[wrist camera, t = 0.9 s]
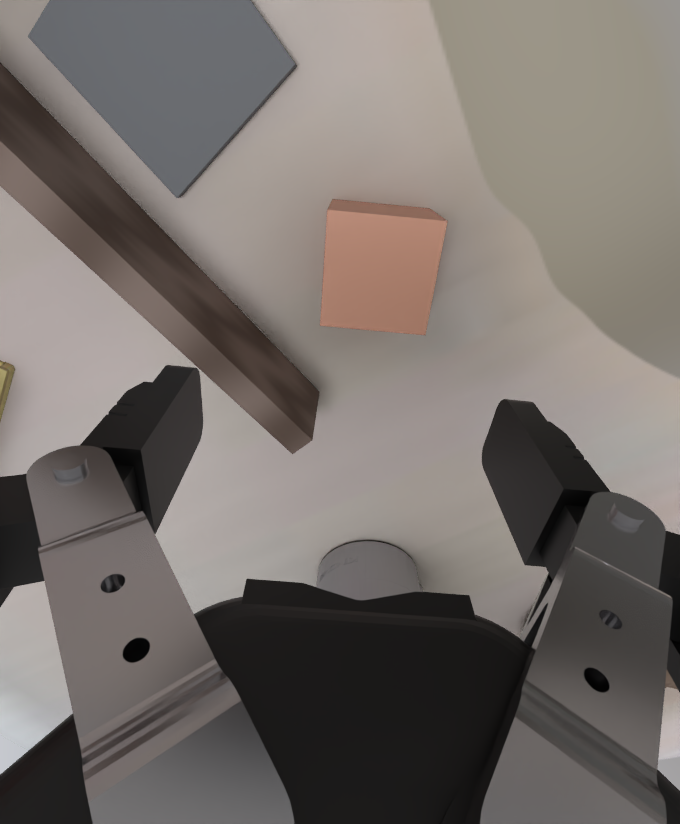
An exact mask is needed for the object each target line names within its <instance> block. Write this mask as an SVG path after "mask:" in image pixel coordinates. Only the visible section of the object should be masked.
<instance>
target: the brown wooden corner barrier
mask: <svg viewBox="0 0 680 824" xmlns="http://www.w3.org/2000/svg"><path fill="white" fill-rule="evenodd" d="M0 186H1V187H2V188H3V189H4V190H5V191H6V192H7V193H9V194H10V195H11V196H12V197H13V198H14V199H15V200H16V201H17V202H18V203H19V204H21V205H22V206H23V207H24V208H25V209H26V210H27V211H28V212H29V213H30V214H31V215H33V216H34V217H35V218H36V219H37V220H38V221H39V222H40V223H41V224H42V225H43V226H45V227H46V228H47V229H48V230H49V231H50V232H51V233H52V234H53V235H54V236H55V237H57V238H58V239H59V240H60V241H61V242H62V243H63V244H64V245H65V246H66V247H67V248H68V249H70V250H71V251H72V252H73V253H74V254H75V255H76V256H77V257H78V258H79V259H80V260H82V261H83V262H84V263H85V264H86V265H87V266H88V267H89V268H90V269H91V270H92V271H94V272H95V273H96V274H97V275H98V276H99V277H100V278H101V279H102V280H103V281H104V282H106V283H107V284H108V285H109V286H110V287H111V288H112V289H113V290H114V291H115V292H116V293H118V294H119V295H120V296H121V297H122V298H123V299H124V300H125V301H126V302H127V303H128V304H129V305H131V306H132V307H133V308H134V309H135V310H136V311H137V312H138V313H139V314H140V315H141V316H143V317H144V318H145V319H146V320H147V321H148V322H149V323H150V324H151V325H152V326H153V327H155V328H156V329H157V330H158V331H159V332H160V333H161V334H162V335H163V336H164V337H165V338H167V339H168V340H169V341H170V342H171V343H172V344H173V345H174V346H175V347H176V348H177V349H179V350H180V351H181V352H182V353H183V354H184V355H185V356H186V357H187V358H188V359H189V360H191V361H192V362H193V363H194V364H195V365H196V366H197V367H198V368H199V369H200V370H201V371H202V372H204V373H205V374H206V375H207V376H208V377H209V378H210V379H211V380H212V381H213V382H214V383H216V384H217V385H218V386H219V387H220V388H221V389H222V390H223V391H224V392H225V393H226V394H228V395H229V396H230V397H231V398H232V399H233V400H234V401H235V402H236V403H237V404H238V405H240V406H241V407H242V408H243V409H244V410H245V411H246V412H247V413H248V414H249V415H250V416H252V417H253V418H254V419H255V420H256V421H257V422H258V423H259V424H260V425H261V426H262V427H264V428H265V429H266V430H267V431H268V432H269V433H270V434H271V435H272V436H273V437H274V438H275V439H277V440H278V441H279V442H280V443H281V444H282V445H283V446H284V447H285V448H286V449H287V450H289V451H290V452H291V453H292V454H293V453H295V452H296V451H298V450H299V449H300V448H302V447H303V446H305V445H306V444H308V443H309V442H310V441H312V439H313V432H314V425H315V418H316V412H317V405H318V398H319V391H318V390H317V389H316V388H315V387H314V386H313V385H312V384H311V383H310V382H309V381H308V380H307V379H306V378H305V377H304V376H303V375H302V374H301V373H300V372H299V371H298V369H297V368H296V367H295V366H294V365H293V364H292V363H291V362H290V361H289V360H288V359H287V358H286V357H285V356H284V355H283V354H282V353H281V352H280V351H279V350H278V349H277V348H276V347H275V346H274V345H273V344H272V343H271V342H270V341H269V340H268V339H267V338H266V336H265V335H264V334H263V333H262V332H261V331H260V330H259V329H258V328H257V327H256V326H255V325H254V324H253V323H252V322H251V321H250V320H249V319H248V318H247V317H246V316H245V315H244V314H243V313H242V312H241V311H240V310H239V309H238V308H237V307H236V306H235V305H234V303H233V302H232V301H231V300H230V299H229V298H228V297H227V296H226V295H225V294H224V293H223V292H222V291H221V290H220V289H219V288H218V287H217V286H216V285H215V284H214V283H213V282H212V281H211V280H210V279H209V278H208V277H207V276H206V275H205V274H204V273H203V272H202V270H201V269H200V268H199V267H198V266H197V265H196V264H195V263H194V262H193V261H192V260H191V259H190V258H189V257H188V256H187V255H186V254H185V253H184V252H183V251H182V250H181V249H180V248H179V247H178V246H177V245H176V244H175V243H174V242H173V241H172V240H171V239H170V237H169V236H168V235H167V234H166V233H165V232H164V231H163V230H162V229H161V228H160V227H159V226H158V225H157V224H156V223H155V222H154V221H153V220H152V219H151V218H150V217H149V216H148V215H147V214H146V213H145V212H144V211H143V210H142V209H141V208H140V207H139V206H138V205H137V203H136V202H135V201H134V200H133V199H132V198H131V197H130V196H129V195H128V194H127V193H126V192H125V191H124V190H123V189H122V188H121V187H120V186H119V185H118V184H117V183H116V182H115V181H114V180H113V179H112V178H111V177H110V176H109V175H108V174H107V173H106V172H105V170H104V169H103V168H102V167H101V166H100V165H99V164H98V163H97V162H96V161H95V160H94V159H93V158H92V157H91V156H90V155H89V154H88V153H87V152H86V151H85V150H84V149H83V148H82V147H81V146H80V145H79V144H78V143H77V142H76V141H75V140H74V139H73V137H72V136H71V135H70V134H69V133H68V132H67V131H66V130H65V129H64V128H63V127H62V126H61V125H60V124H59V123H58V122H57V121H56V120H55V119H54V118H53V117H52V116H51V115H50V114H49V113H48V112H47V111H46V110H45V109H44V108H43V107H42V106H41V104H40V103H39V102H38V101H37V100H36V99H35V98H34V97H33V96H32V95H31V94H30V93H29V92H28V91H27V90H26V89H25V88H24V87H23V86H22V85H21V84H20V83H19V82H18V81H17V80H16V79H15V78H14V77H13V76H12V75H11V74H10V73H9V71H8V70H7V69H6V68H5V67H4V66H3V65H2V64H1V63H0Z"/></svg>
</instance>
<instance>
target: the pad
mask: <svg viewBox="0 0 680 824" xmlns="http://www.w3.org/2000/svg"><path fill="white" fill-rule="evenodd" d="M28 37H29V38H30V40H31V41H32V42H33V43H34V44H35V45H36V46H37V47H38V48H39V49H40V50H41V51H42V53H43V54H44V55H45V56H46V57H47V58H48V59H49V60H50V61H51V62H52V63H53V64H54V66H55V67H56V68H57V69H58V70H59V71H60V72H61V73H62V74H63V75H64V76H65V77H66V79H67V80H68V81H69V82H70V83H71V84H72V85H73V86H74V87H75V88H76V89H77V90H78V92H79V93H80V94H81V95H82V96H83V97H84V98H85V99H86V100H87V101H88V102H89V103H90V105H91V106H92V107H93V108H94V109H95V110H96V111H97V112H98V113H99V114H100V115H101V116H102V118H103V119H104V120H105V121H106V122H107V123H108V124H109V125H110V126H111V127H112V128H113V129H114V131H115V132H116V133H117V134H118V135H119V136H120V137H121V138H122V139H123V140H124V141H125V142H126V144H127V145H128V146H129V147H130V148H131V149H132V150H133V151H134V152H135V153H136V154H137V155H138V156H139V158H140V159H141V160H142V161H143V162H144V163H145V164H146V165H147V166H148V167H149V168H150V169H151V171H152V172H153V173H154V174H155V175H156V176H157V177H158V178H159V179H160V180H161V181H162V182H163V184H164V185H165V186H166V187H167V188H168V189H169V190H170V191H171V192H172V193H173V194H174V195H175V197H176V198H179V197H181V196H182V195H183V194H184V193H185V192H186V190H187V189H188V188H189V187H190V186H191V185H192V184H193V183H194V181H195V180H196V179H197V178H198V177H199V176H200V175H201V174H202V172H203V171H204V170H205V169H206V168H207V167H208V166H209V165H210V163H211V162H212V161H213V160H214V159H215V158H216V157H217V155H218V154H219V153H220V152H221V151H222V150H223V149H224V148H225V146H226V145H227V144H228V143H229V142H230V141H231V140H232V139H233V137H234V136H235V135H236V134H237V133H238V132H239V131H240V130H241V128H242V127H243V126H244V125H245V124H246V123H247V122H248V121H249V119H250V118H251V117H252V116H253V115H254V114H255V113H256V112H257V110H258V109H259V108H260V107H261V106H262V105H263V104H264V102H265V101H266V100H267V99H268V98H269V97H270V96H271V95H272V93H273V92H274V91H275V90H276V89H277V88H278V87H279V86H280V84H281V83H282V82H283V81H284V80H285V79H286V78H287V77H288V75H289V74H290V73H291V72H292V71H293V70H294V69H295V68H296V64H295V63H294V61H293V60H292V58H291V57H290V56H289V54H288V53H287V51H286V50H285V48H284V47H283V46H282V44H281V43H280V41H279V40H278V39H277V37H276V36H275V34H274V33H273V31H272V30H271V29H270V27H269V26H268V24H267V23H266V22H265V20H264V19H263V17H262V16H261V15H260V13H259V12H258V10H257V9H256V7H255V6H254V5H253V3H252V2H251V0H50V1H49V2H48V4H47V6H46V7H45V9H44V11H43V12H42V14H41V16H40V17H39V19H38V21H37V22H36V24H35V26H34V27H33V29H32V31H31V32H30V34H29V35H28Z"/></svg>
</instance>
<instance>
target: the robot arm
mask: <svg viewBox="0 0 680 824" xmlns="http://www.w3.org/2000/svg"><path fill="white" fill-rule="evenodd" d="M202 429H203V412H202V398H201V383H200V374H199V371H198V369H197V368H191V367H181V366H171V365H167V366H165V367H164V369H163V370H162V371H161V373H160V374H159V375H158V376H157V378H156V379H155V380H154V381H153V383H152V382H143V383H141V384H139V385H137V386H135V387H133V388H132V389H130V390H128V391H127V392H126V393H125V394H124V395H123V396H122V397H121V399H120V400H119V401H118V402H117V405H115V406H114V407H113V408H112V409H111V410H110V411H109V415H106V416H105V417H104V418H103V419H102V421H101V422H100V423H99V424H98V425H97V426H96V427H95V429H94V430H93V431H92V432H91V433H90V434H89V436H88V437H87V438H86V439H85V440H84V441H83V443H82V444H81V445H80V446H71V447H66V448H62V449H59V450H56V451H53V452H51V453H49V454H47V455H45V456H43V457H41V458H40V459H38V460H37V461H36V462H35V463H33V465H32V466H31V467H30V468H29V470H28V472H27V474H23V475H15V476H6V477H0V607H1V605H2V604H3V602H4V601H5V599H6V598H7V596H8V595H9V593H10V592H11V590H12V589H13V587H15V586H20V585H25V584H30V583H36V582H41V581H45V585H46V590H47V594H48V599H49V604H50V608H51V613H52V618H53V622H54V627H55V632H56V636H57V641H58V645H59V650H60V655H61V659H62V664H63V669H64V673H65V678H66V683H67V687H68V692H69V697H70V701H71V706H72V710H73V714H71V715H70V716H69V717H68V718H67V719H66V720H64V721H63V722H62V723H61V724H60V725H58V726H57V727H56V728H55V729H54V730H53V731H51V732H50V733H49V734H48V735H47V736H45V737H44V738H43V739H42V740H41V741H40V742H38V743H37V744H36V745H35V746H34V747H32V748H31V749H30V750H29V751H28V752H27V753H25V754H24V755H23V756H22V757H21V758H19V759H18V760H17V761H16V762H15V763H14V764H12V765H11V766H10V767H9V768H8V769H6V770H5V771H4V772H3V773H2V774H1V775H0V824H680V791H679V790H678V789H677V788H676V787H675V786H674V785H673V784H672V783H671V782H670V781H669V780H668V779H667V778H666V777H665V776H664V775H662V773H661V772H660V771H658V770H657V765H658V756H659V745H660V734H661V724H662V713H663V702H664V692H665V681H666V670H667V671H668V672H669V674H670V676H671V678H672V679H673V681H674V683H675V685H676V687H677V688H678V690H679V692H680V535H678V534H675V533H671V532H668V531H666V530H665V527H664V525H663V523H662V521H661V520H660V519H659V517H658V516H657V515H656V514H655V513H654V512H652V511H651V510H650V509H649V508H647V507H646V506H644V505H643V504H641V503H640V502H638V501H636V500H634V499H632V498H629V497H627V496H624V495H621V494H618V493H613V492H610V491H609V489H608V488H607V487H606V485H605V484H604V483H603V481H602V480H601V479H600V477H599V476H598V475H597V474H596V472H595V471H594V470H593V468H592V467H591V466H590V464H589V463H588V462H587V460H584V457H583V455H582V454H581V453H580V451H579V450H578V449H576V446H575V445H574V443H573V442H572V441H571V439H570V438H569V437H568V436H567V434H566V433H564V432H563V431H562V430H560V429H559V428H558V427H556V426H555V425H554V424H552V423H551V422H547V420H546V419H545V418H544V416H543V415H542V414H541V412H540V411H539V409H538V408H537V407H536V405H535V404H534V403H533V402H528V401H517V400H507V399H503V400H502V401H501V402H500V403H499V405H498V407H497V409H496V412H495V415H494V418H493V421H492V423H491V426H490V429H489V432H488V435H487V437H486V440H485V443H484V446H483V451H482V465H483V469H484V471H485V473H486V476H487V478H488V480H489V483H490V485H491V487H492V490H493V492H494V494H495V497H496V499H497V501H498V504H499V506H500V508H501V511H502V513H503V515H504V518H505V520H506V522H507V525H508V527H509V529H510V532H511V534H512V536H513V539H514V541H515V543H516V546H517V548H518V550H519V553H520V555H521V557H522V560H523V562H524V564H525V565H530V566H542V567H546V568H547V570H548V572H549V573H548V574H547V576H546V578H545V580H544V582H543V584H542V586H541V588H540V591H539V593H538V595H537V598H536V600H535V602H534V605H533V607H532V609H531V612H530V614H529V616H528V619H527V621H526V623H525V626H524V628H523V630H522V633H521V635H520V637H519V638H518V637H517V636H515V635H514V634H513V633H511V632H510V631H508V630H507V629H505V628H503V627H501V626H499V625H497V624H496V623H494V622H492V621H489V620H487V619H485V618H482V617H480V616H477V615H474V611H473V607H472V604H471V600H470V597H469V595H456V594H443V593H429V592H423V589H422V586H420V585H419V580H418V573H417V569H416V565H415V564H414V562H413V560H412V559H411V558H410V557H409V556H408V555H407V554H406V553H405V552H403V551H402V550H400V549H399V548H397V547H394V546H392V545H389V544H386V543H381V542H374V541H362V542H353V543H350V544H346V545H343V546H341V547H338V548H336V549H334V550H333V551H332V552H330V553H329V554H327V556H326V557H325V558H324V559H323V560H322V562H321V564H320V566H319V569H318V576H317V587H314V586H310V585H307V584H304V583H295V582H282V581H268V580H255V579H247V580H246V585H245V589H244V594H243V597H239V598H234V599H230V600H226V601H223V602H219V603H217V604H214V605H212V606H209V607H207V608H205V609H203V610H201V611H199V612H197V613H195V614H193V612H192V610H191V608H190V606H189V604H188V602H187V600H186V598H185V596H184V594H183V592H182V590H181V587H180V585H179V583H178V581H177V579H176V577H175V575H174V573H173V571H172V569H171V567H170V565H169V563H168V561H167V559H166V557H165V555H164V552H163V550H162V548H161V546H160V544H159V542H158V540H157V538H156V536H155V534H156V532H157V530H158V528H159V525H160V523H161V521H162V519H163V517H164V515H165V513H166V511H167V509H168V507H169V505H170V502H171V500H172V498H173V496H174V494H175V492H176V490H177V488H178V486H179V484H180V482H181V479H182V477H183V475H184V473H185V471H186V469H187V467H188V465H189V463H190V461H191V459H192V456H193V454H194V452H195V450H196V448H197V446H198V444H199V442H200V439H201V435H202Z"/></svg>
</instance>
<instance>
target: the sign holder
mask: <svg viewBox="0 0 680 824" xmlns="http://www.w3.org/2000/svg"><path fill="white" fill-rule="evenodd" d="M14 370H15V368H14V366H13V365H10V364H8V363H6V362H2V361H0V421H1V417H2V414H3V410H4V406H5V403H6V399H7V395H8V392H9V388H10V384H11V381H12V377H13V374H14Z"/></svg>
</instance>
